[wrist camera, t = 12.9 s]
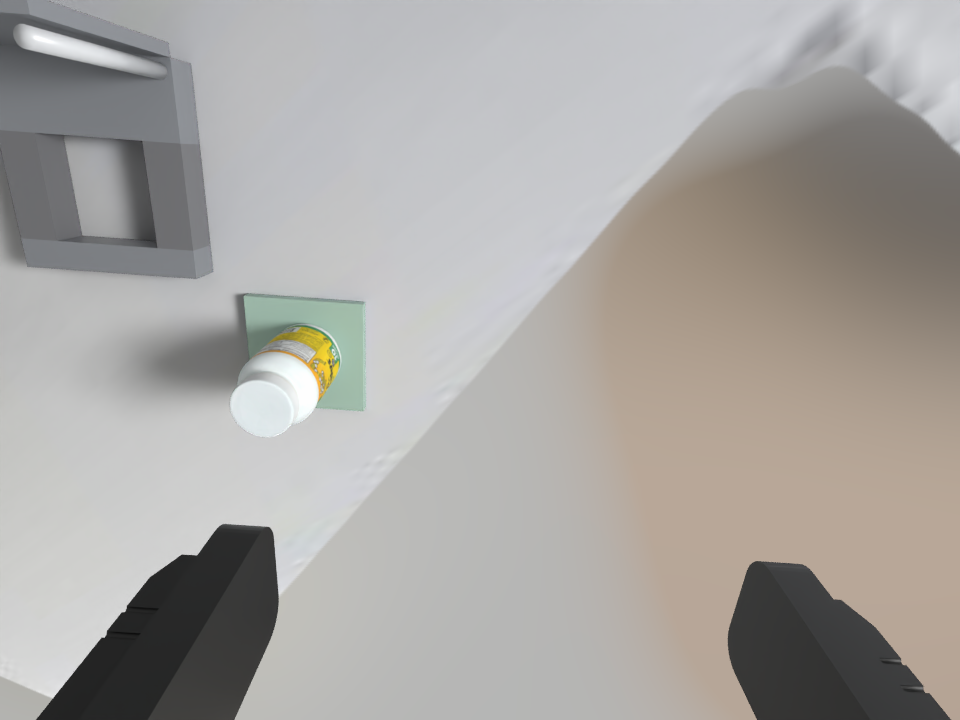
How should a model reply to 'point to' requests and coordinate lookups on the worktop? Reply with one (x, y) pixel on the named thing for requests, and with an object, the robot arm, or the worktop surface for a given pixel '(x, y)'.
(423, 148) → the worktop surface
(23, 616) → the worktop surface
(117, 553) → the worktop surface
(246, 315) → the pad
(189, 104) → the case
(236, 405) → the supplement bottle
